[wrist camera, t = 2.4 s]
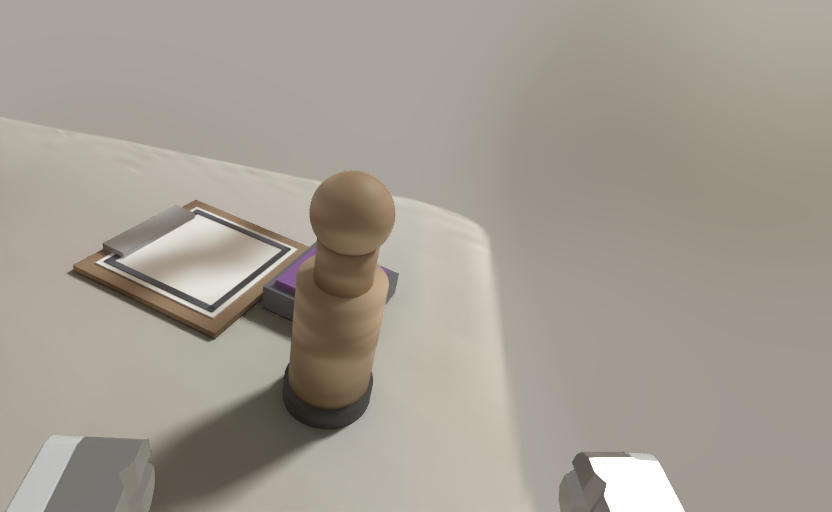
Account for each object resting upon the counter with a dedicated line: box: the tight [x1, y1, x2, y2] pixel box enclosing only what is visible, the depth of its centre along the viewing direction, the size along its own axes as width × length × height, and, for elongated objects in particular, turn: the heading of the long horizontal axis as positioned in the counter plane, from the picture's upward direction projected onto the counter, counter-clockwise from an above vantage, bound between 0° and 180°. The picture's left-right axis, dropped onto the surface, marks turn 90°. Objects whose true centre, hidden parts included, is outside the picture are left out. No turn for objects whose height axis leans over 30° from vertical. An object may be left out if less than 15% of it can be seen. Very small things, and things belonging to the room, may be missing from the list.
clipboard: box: [73, 200, 309, 338], centre depth 34 cm, size 10×10×1 cm
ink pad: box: [262, 242, 399, 321], centre depth 33 cm, size 6×6×2 cm
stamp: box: [283, 171, 395, 429], centre depth 24 cm, size 4×4×12 cm
